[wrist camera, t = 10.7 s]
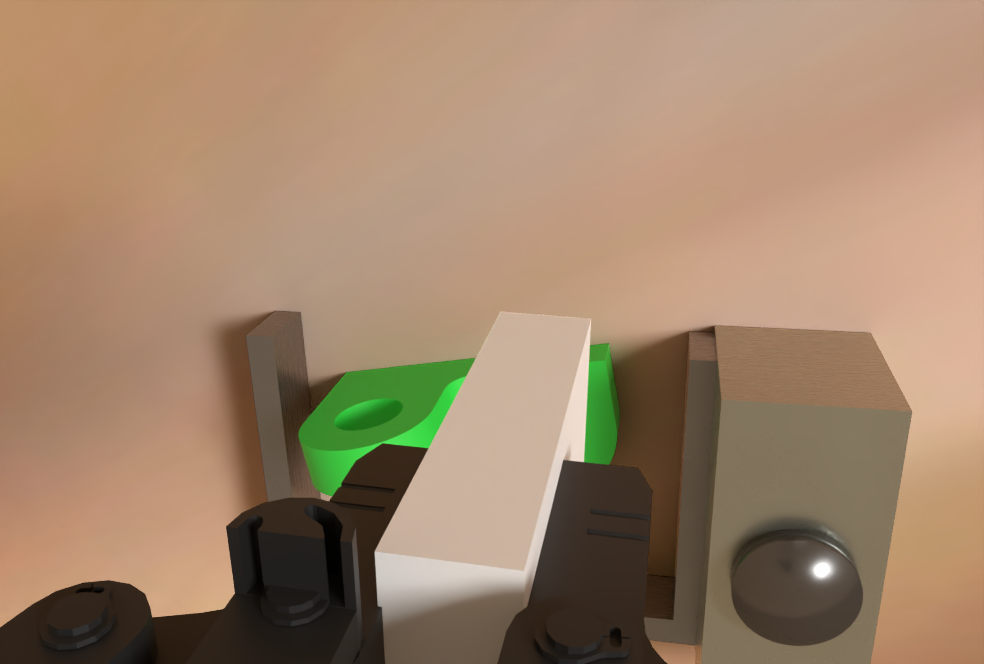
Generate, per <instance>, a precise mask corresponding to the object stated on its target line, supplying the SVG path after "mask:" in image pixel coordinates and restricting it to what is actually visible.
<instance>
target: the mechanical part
mask: <svg viewBox="0 0 984 664" xmlns="http://www.w3.org/2000/svg"><path fill="white" fill-rule="evenodd" d="M475 359H476V358H471V359H462V360H453V361H444V362H435V363H426V364H417V365H407V366H398V367H389V368H380V369H371V370H362V371H353V372H346V373H345V375H344V376H343V377H342V378H341V379H340V381H339V382H338V383H337V384H336V385H335V386H334V388H333V389H332V390H331V391H330V392H329V394H328V395H327V396H326V397H325V398H324V399H323V401H322V402H321V403H320V404H319V405H318V407H317V408H316V409H315V410H314V411H313V412H312V414H311V415H310V416H309V417H308V418H307V420H306V421H305V422H304V423H303V424H302V426H301V428H300V430H299V440H300V443H301V447H302V450H303V453H304V457H305V460H306V463H307V467H308V470H309V473H310V477H311V480H312V483H313V485H314V487H315V488H316V489H317V490H318V491H320V492H322V493H324V494H326V495H330V496H333V495H334V493H335V492H336V490H337V489H338V487H341V483H342V481H343V480H344V478H345V476H346V475H347V473H348V472H349V470H350V469H351V467H352V466H353V464H354V463H355V461H356V460H358V459H359V458H361V457H362V456H364V455H365V454H367V453H368V452H370V451H371V450H373V449H374V448H376V447H377V446H379V445H381V444H382V443H385V444H394V445H404V446H413V447H422V448H429V447H430V445H431V443H432V441H433V439H434V437H435V435H436V433H437V431H438V430H439V428H440V426H441V424H442V422H443V420H444V418H445V416H446V414H447V412H448V410H449V409H450V407H451V405H452V403H453V401H454V399H455V397H456V395H457V393H458V391H459V389H460V388H461V386H462V384H463V382H464V380H465V378H466V376H467V374H468V372H469V370H470V368H471V367H472V365H473V363H474V361H475ZM619 422H620V411H619V403H618V397H617V391H616V385H615V379H614V373H613V367H612V361H611V354H610V348H609V343H607V344H598V345H590V351H589V371H588V391H587V411H586V431H585V451H584V462H587V463H597V464H606V465H609V464H610V462H611V460H612V458H613V455H614V453H615V449H616V443H617V436H618V429H619Z"/></svg>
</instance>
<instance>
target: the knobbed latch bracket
mask: <svg viewBox="0 0 984 664" xmlns="http://www.w3.org/2000/svg"><path fill="white" fill-rule="evenodd" d="M246 341H247V349H248V356H249V364H250V371H251V379H252V386H253V394H254V401H255V409H256V416H257V424H258V431H259V439H260V447H261V454H262V462H263V469H264V477H265V484H266V492H267V499H268V502H270V501H275V500H280V499H284V498H317V499H321V498H320V491H318V490H317V489H316V488H315V487H314V485H313V483H312V480H311V477H310V473H309V470H308V467H307V463H306V460H305V457H304V453H303V450H302V447H301V443H300V440H299V430H300V428H301V426H302V424H303V423H304V422H305V421H306V420H307V418H308V417H309V416H310V415H311V405H310V396H309V386H308V377H307V368H306V358H305V349H304V340H303V331H302V321H301V312H286V311H275V312H274V313H272V314H271V315H270V316H269V317H268V318H266V319H265V320H264V321H263V322H261V323H260V324H259V325H258V326H257V327H255V328H254V329H253V330H252V331H251V332H249V333H248V334H247V335H246ZM911 415H912V410H911V408H910V407H909V405H908V403H907V401H906V399H905V397H904V395H903V393H902V391H901V389H900V388H899V386H898V384H897V382H896V380H895V378H894V376H893V374H892V372H891V370H890V369H889V367H888V365H887V363H886V361H885V359H884V357H883V355H882V353H881V351H880V350H879V348H878V346H877V344H876V342H875V340H874V338H873V336H872V334H871V333H861V332H840V331H819V330H798V329H777V328H756V327H735V326H715V329H714V332H696V331H689V344H688V360H687V376H686V392H685V408H684V425H683V441H682V457H681V473H680V489H679V505H678V522H677V538H676V554H675V570H674V578H673V577H663V576H653V575H647V582H646V597H645V612H644V623H645V632H646V635H647V637H648V639H649V640H653V641H662V642H670V643H679V644H688V645H695V664H870V663H871V657H872V651H873V645H874V639H875V633H876V627H877V621H878V615H879V609H880V603H881V597H882V591H883V585H884V579H885V573H886V567H887V560H888V554H889V548H890V542H891V536H892V530H893V524H894V518H895V512H896V506H897V500H898V494H899V488H900V482H901V476H902V470H903V464H904V458H905V452H906V445H907V439H908V433H909V427H910V421H911Z"/></svg>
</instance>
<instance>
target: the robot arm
mask: <svg viewBox="0 0 984 664" xmlns="http://www.w3.org/2000/svg"><path fill="white" fill-rule="evenodd" d="M590 331H591V318H579V317H566V316H554V315H541V314H528V313H515V312H502V311H500V313H499V315H498V317H497V319H496V321H495V323H494V325H493V326H492V328H491V330H490V332H489V334H488V336H487V338H486V340H485V342H484V344H483V346H482V347H481V349H480V351H479V353H478V355H477V357H476V359H475V361H474V363H473V365H472V367H471V368H470V370H469V372H468V374H467V376H466V378H465V380H464V382H463V384H462V386H461V388H460V389H459V391H458V393H457V395H456V397H455V399H454V401H453V403H452V405H451V407H450V409H449V410H448V412H447V414H446V416H445V418H444V420H443V422H442V424H441V426H440V428H439V430H438V431H437V433H436V435H435V437H434V439H433V441H432V443H431V445H430V447H429V448H422V447H413V446H404V445H394V444H385V443H382V444H381V445H379V446H377V447H376V448H374V449H373V450H371V451H370V452H368V453H367V454H365V455H364V456H362V457H361V458H359V459H358V460H356V461H355V463H354V464H353V466H352V467H351V469H350V470H349V472H348V473H347V475H346V476H345V478H344V480H343V481H342V483H341V487H338V489H337V490H336V492H335V493H334V495H333V496H332V498H331V499H330V502H329V501H325V500H321V499H317V498H284V499H280V500H275V501H270V502H266V503H263V504H260V505H258V506H256V507H254V508H252V509H249V510H247V511H245V512H243V513H241V514H240V515H239V516H238V517H237V518H236V519H234V520H233V521H232V522H231V523H230V524H229V525H227V526H226V529H227V536H228V544H229V551H230V559H231V566H232V573H233V581H234V588H235V594H234V595H233V597H232V598H231V600H230V601H229V603H228V604H227V605H226V607H225V608H224V609H222V610H216V611H210V612H204V613H195V614H185V615H174V616H164V617H153V618H152V615H151V609H150V606H149V603H148V601H147V598H146V595H145V594H144V593H143V592H141V591H140V590H138V589H137V588H135V587H134V586H132V585H131V584H126V583H120V582H115V581H109V580H108V581H97V582H86V583H81V584H78V585H74V586H71V587H68V588H65V589H62V590H58V591H56V592H54V593H52V594H50V595H49V596H47V597H45V598H43V599H41V600H40V601H38V602H36V603H34V604H32V605H31V606H30V607H28V608H27V609H25V610H24V611H23V612H21V613H20V614H18V615H17V616H16V617H14V618H13V619H11V620H10V621H9V622H7V623H6V624H4V625H3V626H2V627H0V664H667V663H666V662H665V661H664V660H663V659H662V658H661V657H660V656H659V654H658V653H657V652H656V651H655V650H654V648H653V647H652V645H651V643H650V641H649V639H648V637H647V635H646V632H645V623H644V612H645V597H646V582H647V567H648V552H649V537H650V522H651V507H652V492H653V491H652V489H651V488H650V486H649V485H648V483H647V481H646V480H645V478H644V477H643V475H642V473H641V472H640V470H639V469H638V468H634V467H625V466H616V465H606V464H597V463H587V462H584V451H585V431H586V411H587V391H588V371H589V351H590Z"/></svg>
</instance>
